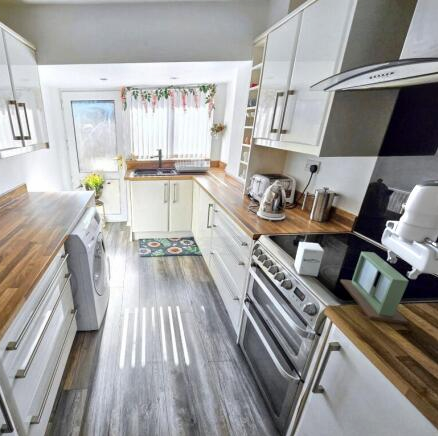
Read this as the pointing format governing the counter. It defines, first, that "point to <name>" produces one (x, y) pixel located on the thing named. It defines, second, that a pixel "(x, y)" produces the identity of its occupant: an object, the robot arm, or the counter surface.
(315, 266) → the white packaging box
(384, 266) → the window frame
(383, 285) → the sliding pane
